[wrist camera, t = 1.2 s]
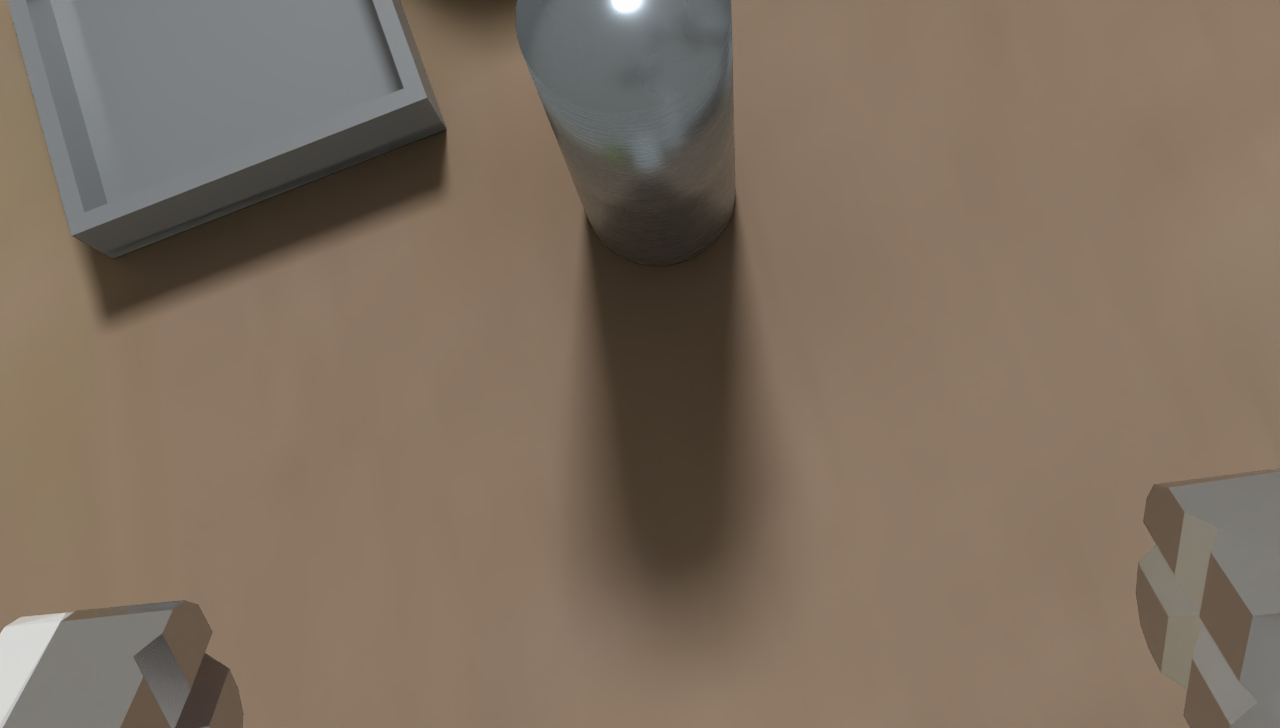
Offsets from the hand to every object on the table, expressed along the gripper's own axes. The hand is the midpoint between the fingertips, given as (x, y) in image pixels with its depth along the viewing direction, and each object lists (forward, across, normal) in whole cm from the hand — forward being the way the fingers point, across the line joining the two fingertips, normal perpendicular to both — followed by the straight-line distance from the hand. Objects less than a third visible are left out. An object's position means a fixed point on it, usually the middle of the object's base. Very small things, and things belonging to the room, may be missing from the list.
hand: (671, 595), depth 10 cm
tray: (+34, +14, +3) cm, 37 cm away
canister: (+28, 0, +9) cm, 30 cm away
